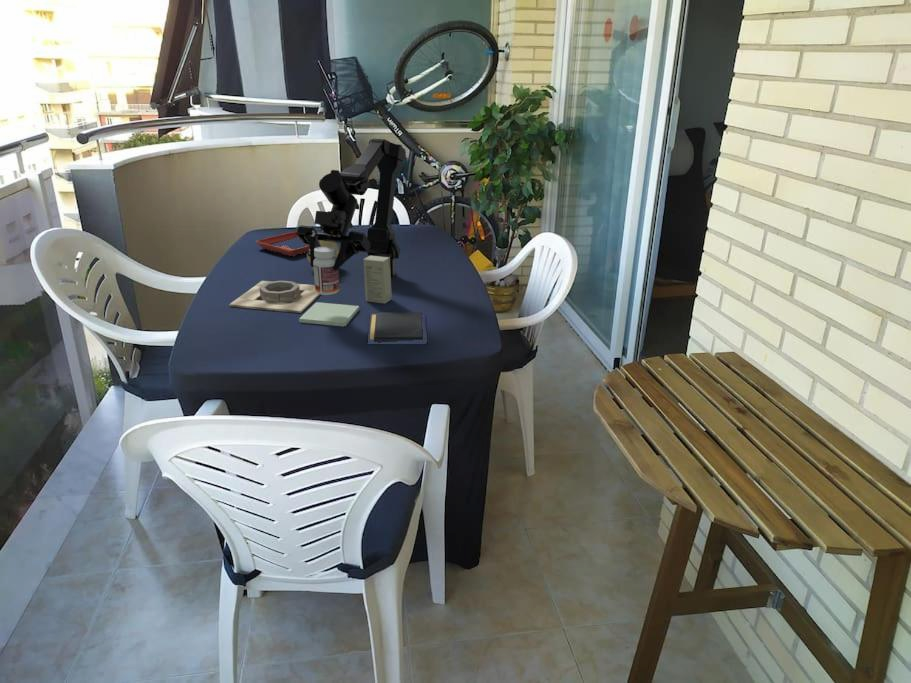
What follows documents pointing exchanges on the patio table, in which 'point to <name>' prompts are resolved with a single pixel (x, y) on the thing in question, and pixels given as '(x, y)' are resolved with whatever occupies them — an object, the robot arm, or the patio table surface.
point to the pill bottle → (325, 271)
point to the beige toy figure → (326, 243)
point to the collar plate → (277, 296)
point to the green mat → (329, 314)
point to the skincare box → (377, 279)
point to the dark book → (395, 326)
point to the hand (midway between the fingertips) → (323, 268)
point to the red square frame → (269, 242)
